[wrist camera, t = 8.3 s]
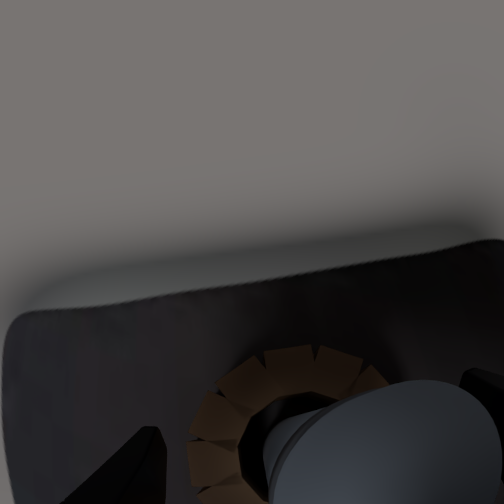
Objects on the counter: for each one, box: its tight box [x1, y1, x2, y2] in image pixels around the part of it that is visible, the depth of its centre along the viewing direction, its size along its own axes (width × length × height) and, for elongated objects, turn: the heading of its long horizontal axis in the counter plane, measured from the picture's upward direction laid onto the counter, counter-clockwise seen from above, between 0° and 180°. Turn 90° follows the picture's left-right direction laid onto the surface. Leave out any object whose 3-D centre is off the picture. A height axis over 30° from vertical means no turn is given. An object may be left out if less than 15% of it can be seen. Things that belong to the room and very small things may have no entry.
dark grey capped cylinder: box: [262, 380, 502, 504], centre depth 8 cm, size 4×4×12 cm
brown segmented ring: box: [186, 344, 390, 504], centre depth 12 cm, size 10×10×2 cm
